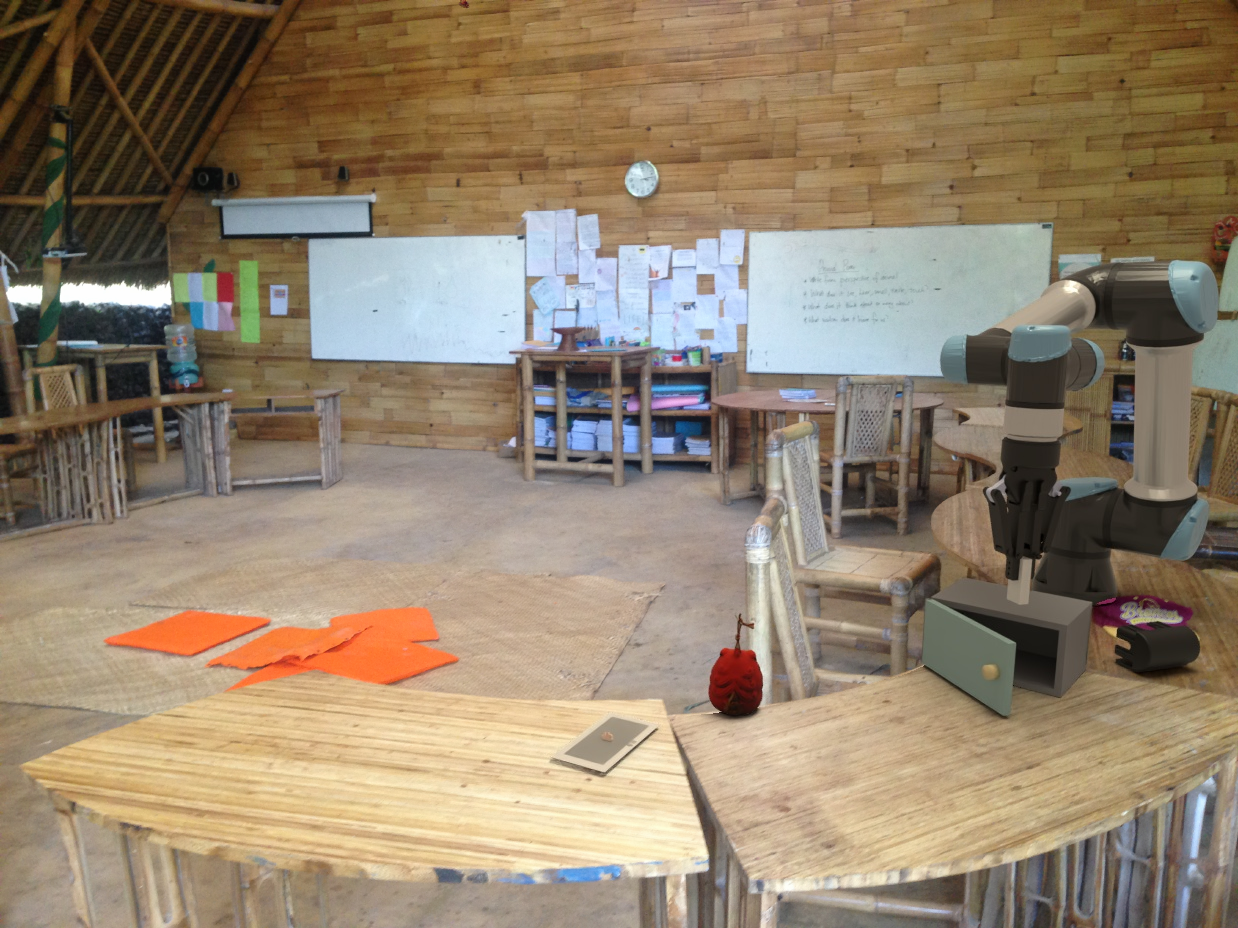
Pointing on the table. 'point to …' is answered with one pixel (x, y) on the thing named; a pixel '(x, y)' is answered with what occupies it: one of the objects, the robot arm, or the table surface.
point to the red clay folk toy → (736, 679)
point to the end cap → (1156, 647)
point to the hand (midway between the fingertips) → (1017, 601)
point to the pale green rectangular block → (969, 655)
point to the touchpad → (605, 741)
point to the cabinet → (1030, 631)
